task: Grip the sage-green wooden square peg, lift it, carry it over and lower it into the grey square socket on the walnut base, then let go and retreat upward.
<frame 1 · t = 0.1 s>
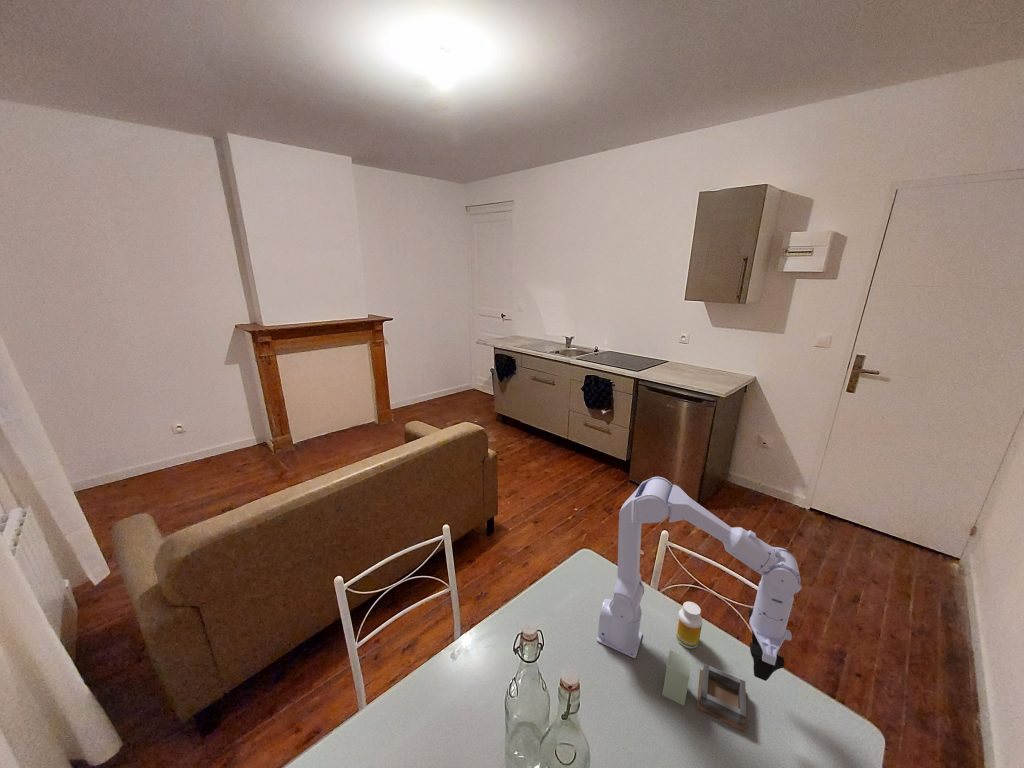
hand: (759, 661, 80), 10 cm above the table, fingers open, 7 cm apart
grey square socket: (721, 700, 82), on the table
peg: (674, 691, 84), on the table
supplement bottle: (686, 639, 96), on the table
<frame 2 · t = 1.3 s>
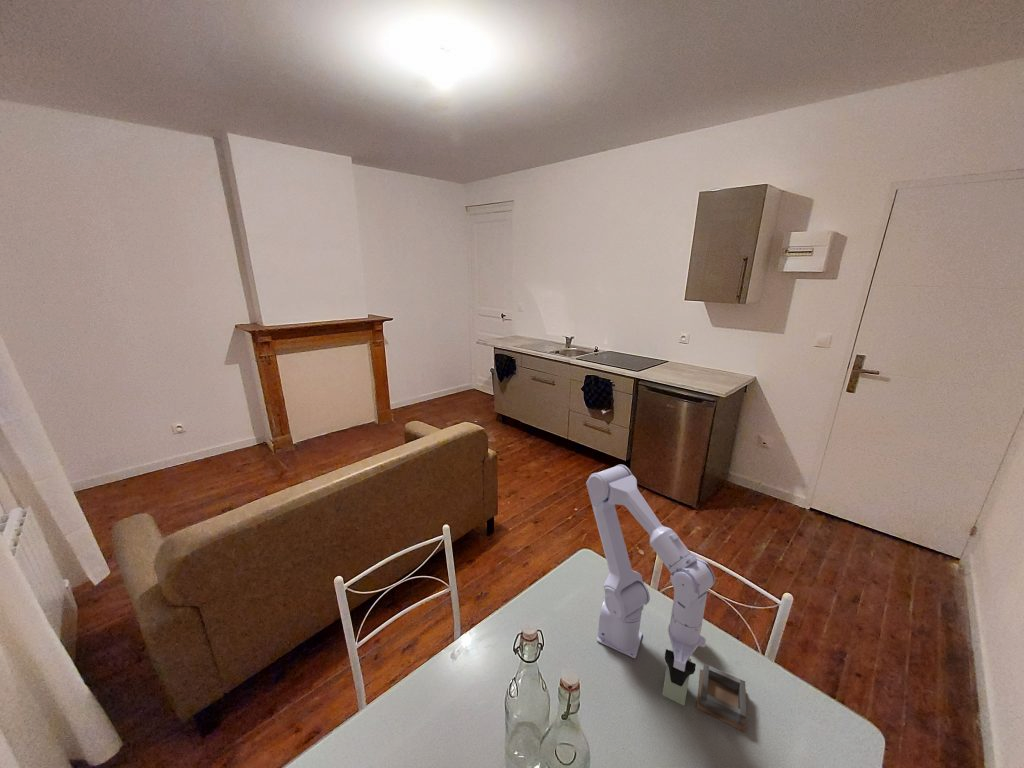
hand: (678, 667, 82), 7 cm above the table, fingers open, 7 cm apart
nothing on the table moved.
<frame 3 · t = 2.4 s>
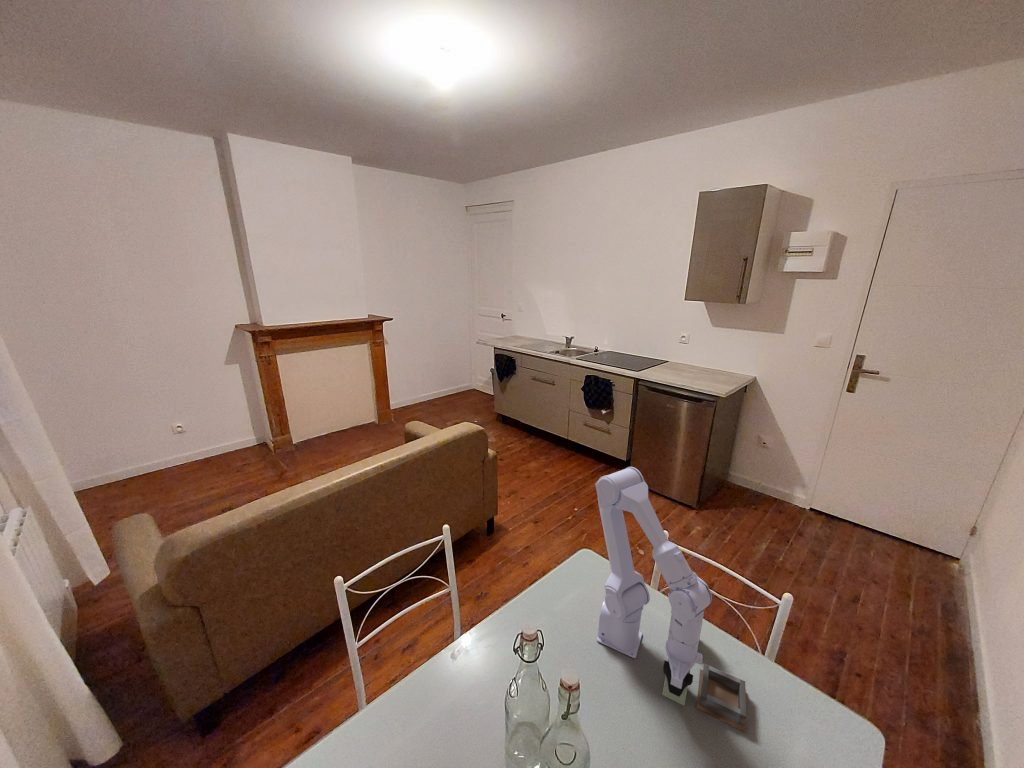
hand: (675, 682, 83), 2 cm above the table, fingers closed on peg, 4 cm apart
peg: (674, 691, 84), on the table, touching gripper
everything else where it was.
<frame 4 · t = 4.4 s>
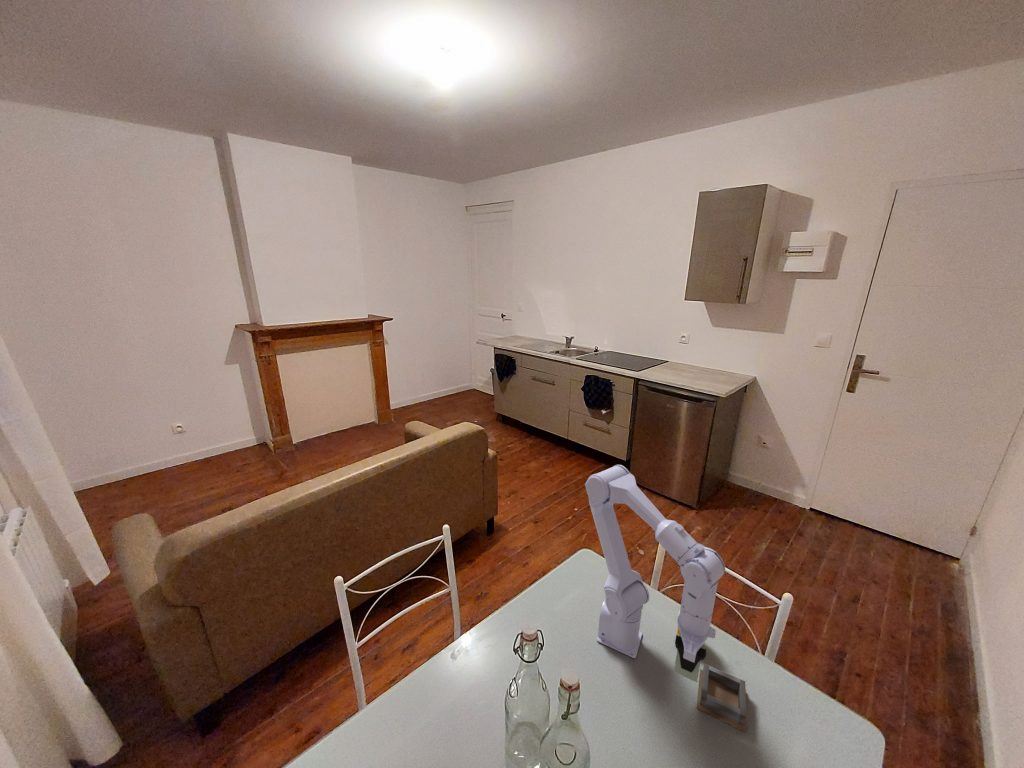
hand: (687, 659, 81), 9 cm above the table, fingers closed on peg, 4 cm apart
peg: (686, 668, 82), point 7 cm above the table, touching gripper
everything else where it was.
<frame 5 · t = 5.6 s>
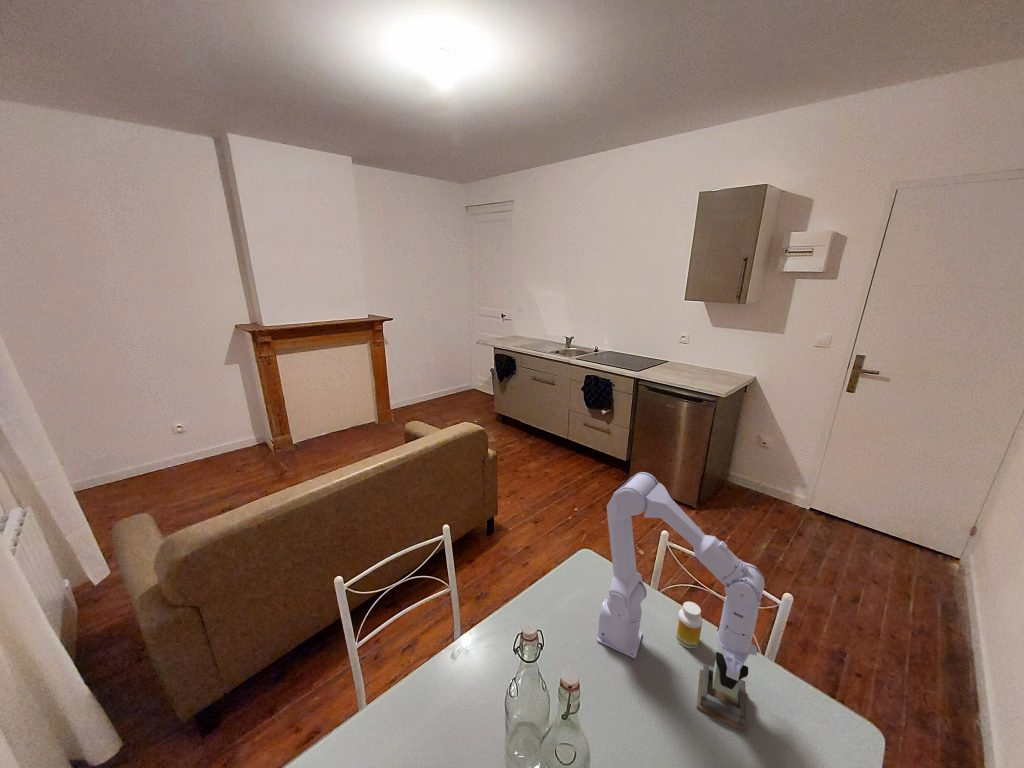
hand: (726, 675, 80), 7 cm above the table, fingers closed on peg, 4 cm apart
peg: (724, 683, 81), point 5 cm above the table, touching gripper
everything else where it was.
when the fingers open (5 cm above the table, at t = 6.5 s): peg drops 1 cm, resting on grey square socket.
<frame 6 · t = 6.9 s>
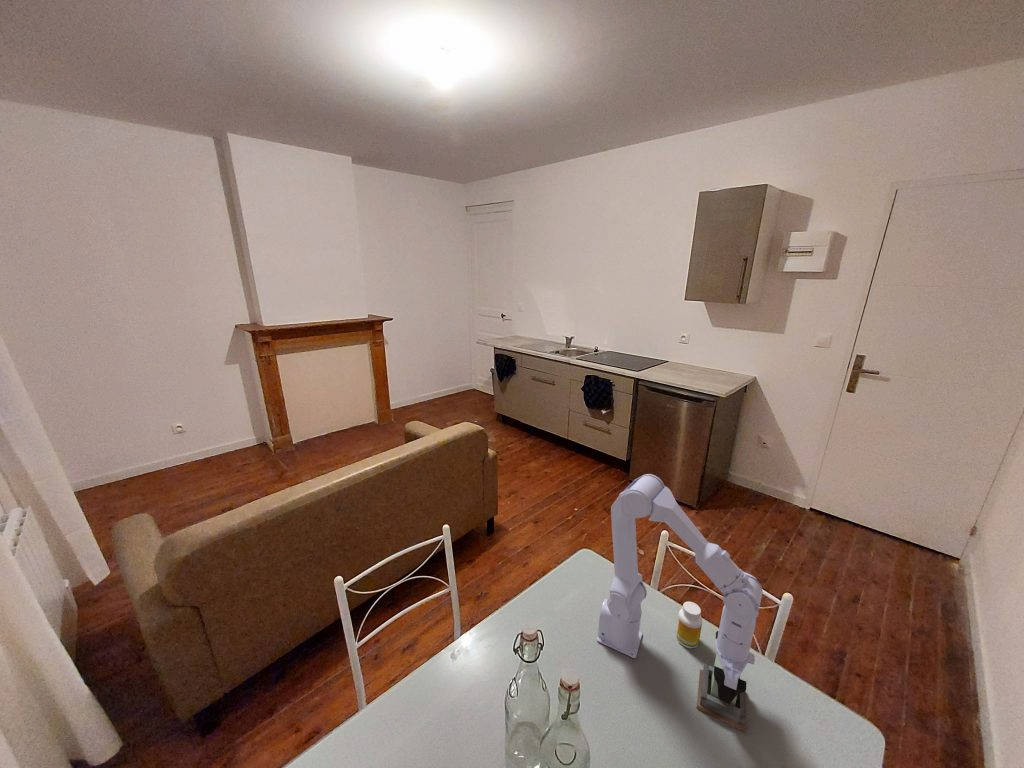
hand: (724, 683, 81), 5 cm above the table, fingers open, 7 cm apart
peg: (721, 697, 82), point 1 cm above the table, touching grey square socket
everything else where it was.
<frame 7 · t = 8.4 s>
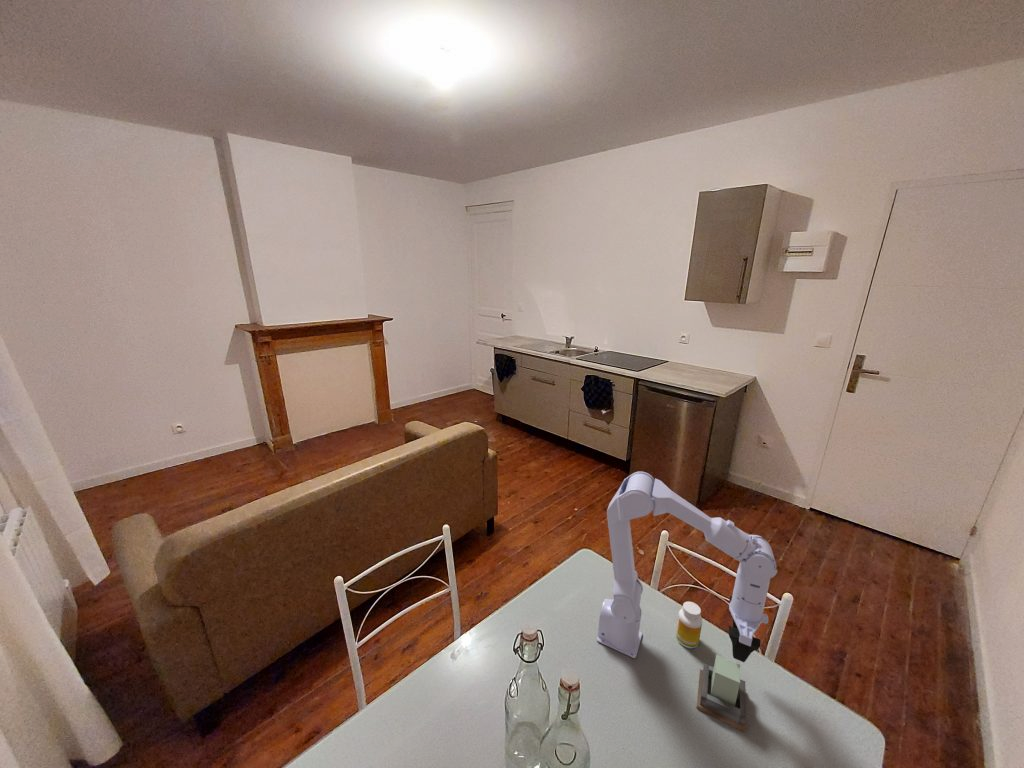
hand: (738, 644, 84), 10 cm above the table, fingers open, 7 cm apart
nothing on the table moved.
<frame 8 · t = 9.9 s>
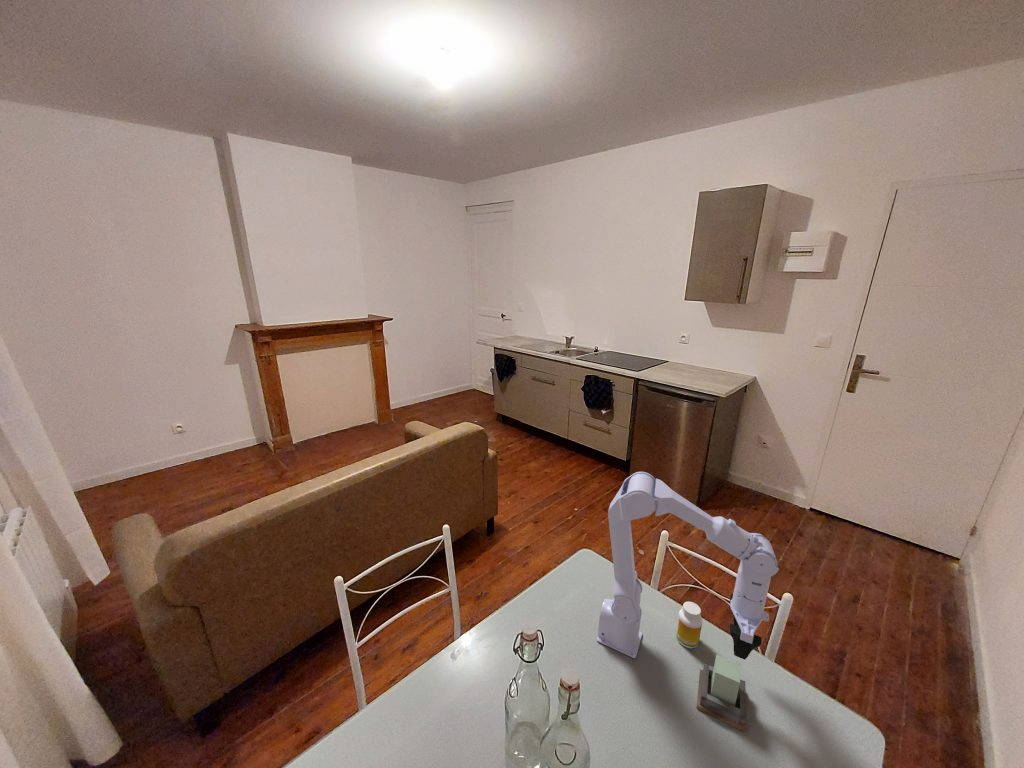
hand: (739, 642, 84), 10 cm above the table, fingers open, 7 cm apart
nothing on the table moved.
at the end: peg 0.1 cm off-centre on the grey square socket, point 0.8 cm above the grey square socket's base; peg tilted 0°; the gripper is holding nothing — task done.
